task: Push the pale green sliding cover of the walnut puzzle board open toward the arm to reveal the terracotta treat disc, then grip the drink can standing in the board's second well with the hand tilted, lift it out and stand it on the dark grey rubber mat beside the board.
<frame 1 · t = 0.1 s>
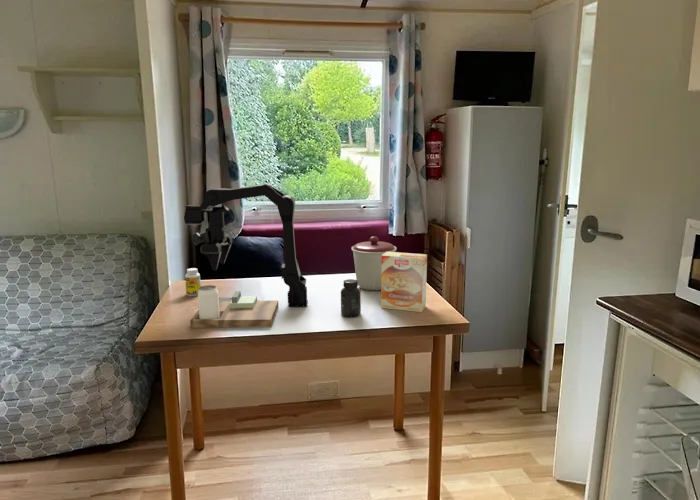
hand: (218, 267, 188), 14 cm above the table, tool pointing down, fingers open, 9 cm apart
can: (209, 322, 174), resting in puzzle board
puzzle board: (236, 316, 179), on the table
mat: (215, 302, 195), on the table
supplement bottle: (350, 315, 181), on the table
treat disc: (244, 312, 185), resting in puzzle board
cover: (243, 299, 184), point 4 cm above the table, slide at 0.0 cm
coffeecake box: (403, 308, 188), on the table
canister: (373, 287, 213), on the table
supplement bottle 2: (193, 295, 205), on the table
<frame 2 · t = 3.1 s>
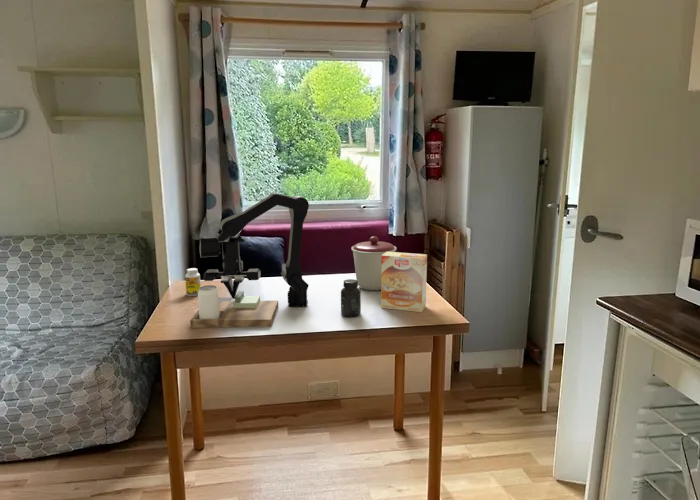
hand: (233, 298, 184), 5 cm above the table, tool pointing down, fingers closed
cover: (246, 299, 184), point 4 cm above the table, slide at 1.1 cm, touching gripper
everything else where it was.
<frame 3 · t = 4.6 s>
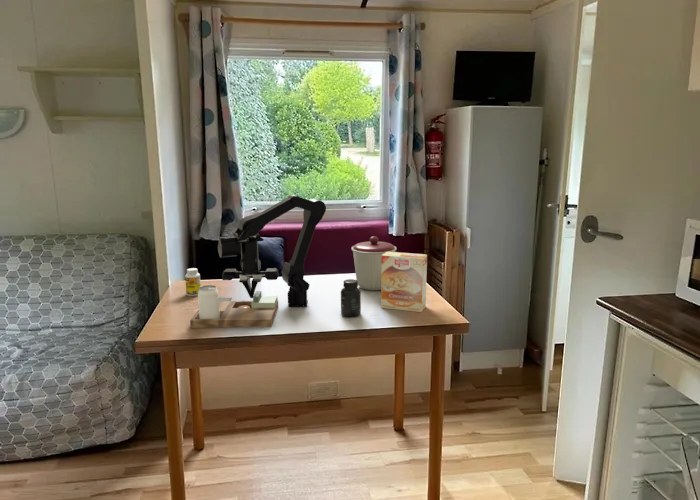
hand: (251, 297, 184), 5 cm above the table, tool pointing down, fingers closed
cover: (264, 299, 184), point 4 cm above the table, slide at 7.4 cm, touching gripper
everything else where it was.
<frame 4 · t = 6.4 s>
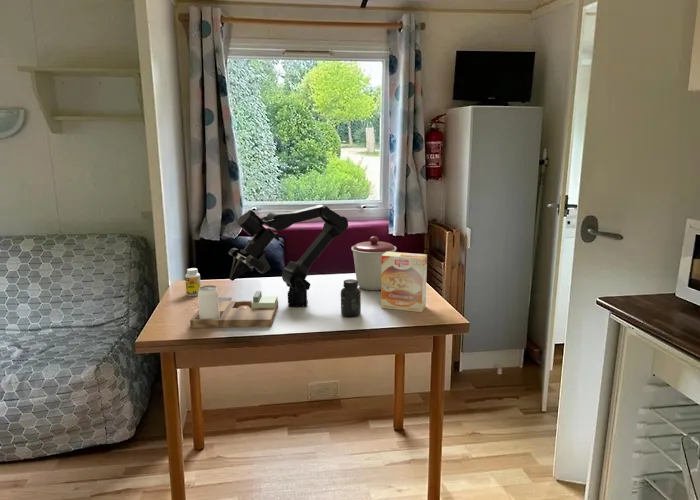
hand: (230, 279, 176), 13 cm above the table, tool tilted 45°, fingers closed
cover: (264, 299, 184), point 4 cm above the table, slide at 7.4 cm
everything else where it was.
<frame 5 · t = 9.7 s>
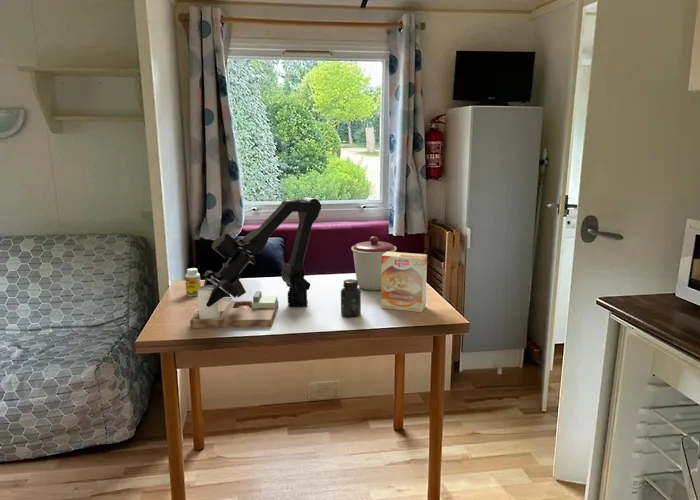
hand: (204, 303, 172), 7 cm above the table, tool tilted 45°, fingers open, 6 cm apart
can: (209, 322, 174), resting in puzzle board, touching gripper
everything else where it was.
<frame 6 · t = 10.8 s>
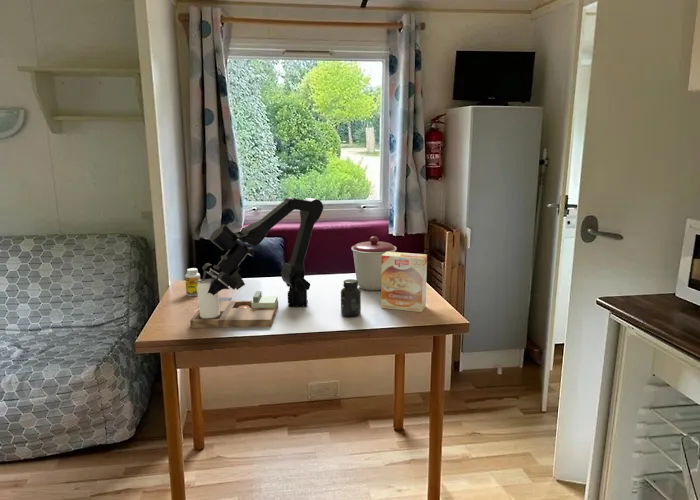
hand: (203, 296, 171), 9 cm above the table, tool tilted 45°, fingers closed on can, 5 cm apart
can: (210, 316, 173), point 2 cm above the table, touching gripper
everything else where it was.
when the fingers open (8 cm above the table, at t = 14.0 s): can stays where it is, resting on mat.
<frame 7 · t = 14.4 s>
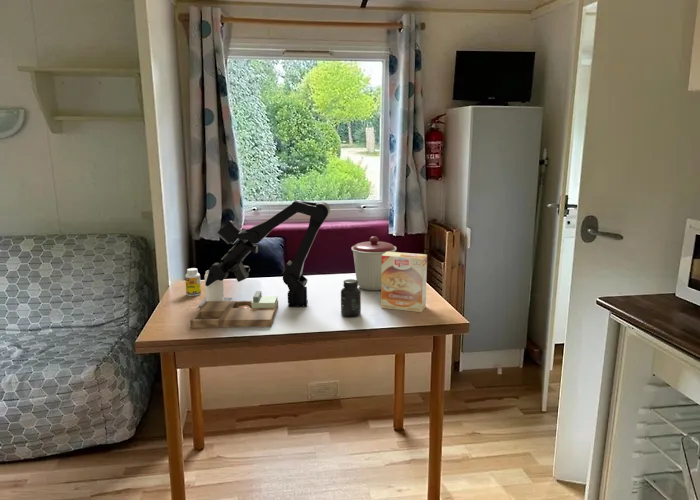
hand: (210, 281, 193), 8 cm above the table, tool tilted 45°, fingers open, 9 cm apart
can: (215, 303, 194), resting on mat
everything else where it was.
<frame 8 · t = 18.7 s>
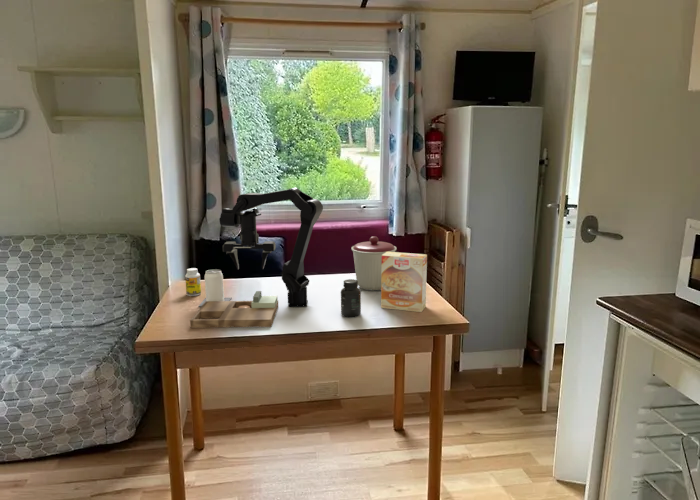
hand: (250, 269, 195), 12 cm above the table, tool pointing down, fingers open, 9 cm apart
nothing on the table moved.
at the end: cover slide at 7.4 cm; can inside the target area (1.1 cm from its centre), resting on mat; can tilted 0° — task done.
